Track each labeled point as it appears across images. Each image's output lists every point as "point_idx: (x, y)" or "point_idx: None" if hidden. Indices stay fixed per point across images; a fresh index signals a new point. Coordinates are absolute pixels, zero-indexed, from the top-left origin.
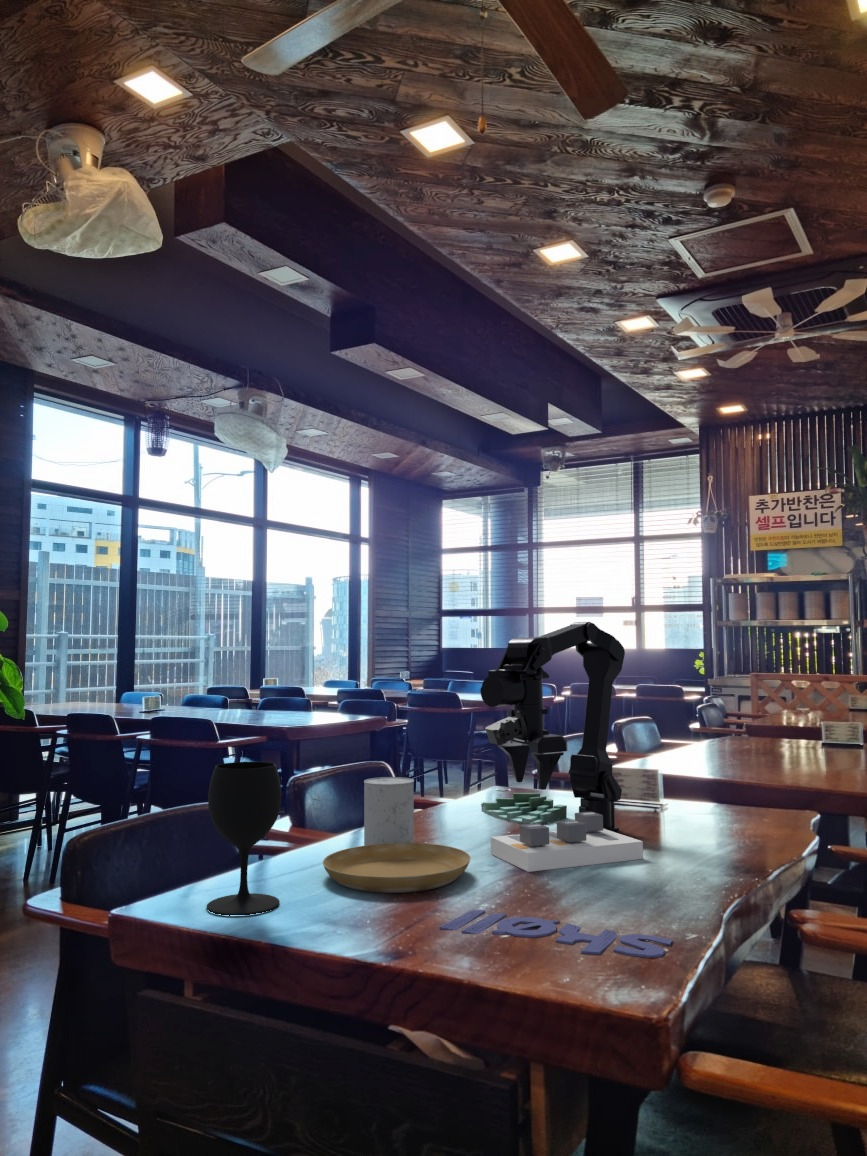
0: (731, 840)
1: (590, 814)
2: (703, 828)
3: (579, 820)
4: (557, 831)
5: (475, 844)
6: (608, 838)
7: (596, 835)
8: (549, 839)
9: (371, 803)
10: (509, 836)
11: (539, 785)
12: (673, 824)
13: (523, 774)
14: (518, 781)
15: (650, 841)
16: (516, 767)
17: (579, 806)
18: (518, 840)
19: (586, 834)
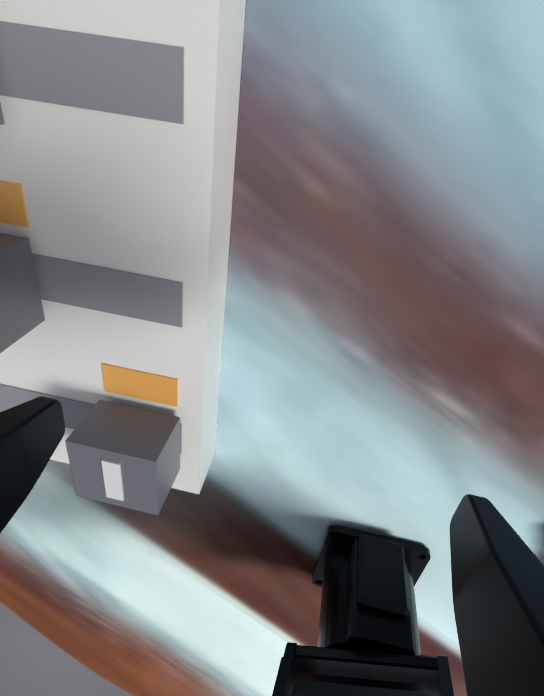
0: (119, 617)
1: (103, 478)
2: (234, 661)
3: (130, 434)
4: (2, 246)
5: (514, 11)
6: (12, 395)
7: (66, 400)
8: (54, 214)
9: None
10: (171, 50)
11: (31, 411)
12: None
13: (456, 597)
14: (465, 504)
15: (174, 539)
16: (520, 648)
17: (404, 612)
18: (54, 29)
19: (102, 392)
